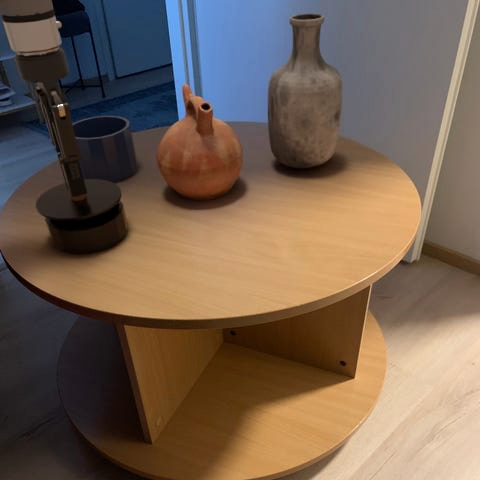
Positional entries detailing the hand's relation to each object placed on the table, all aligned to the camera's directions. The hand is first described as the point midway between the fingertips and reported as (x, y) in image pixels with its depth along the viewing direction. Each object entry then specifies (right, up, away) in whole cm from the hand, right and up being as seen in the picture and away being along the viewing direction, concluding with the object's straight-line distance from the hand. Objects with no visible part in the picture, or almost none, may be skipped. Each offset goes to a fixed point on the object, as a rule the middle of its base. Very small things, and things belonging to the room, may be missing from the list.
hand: (77, 190), depth 93 cm
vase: (+45, +13, +26) cm, 53 cm away
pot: (-2, +12, +28) cm, 31 cm away
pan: (+1, -7, +6) cm, 9 cm away
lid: (0, -1, +1) cm, 2 cm away
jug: (+22, +5, +19) cm, 29 cm away
